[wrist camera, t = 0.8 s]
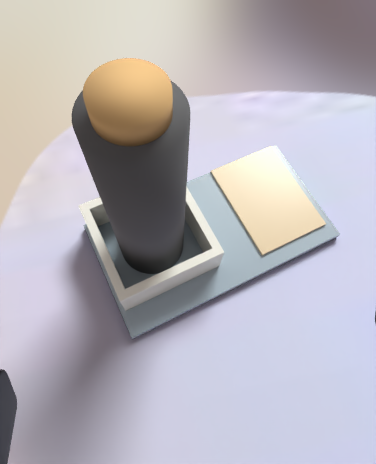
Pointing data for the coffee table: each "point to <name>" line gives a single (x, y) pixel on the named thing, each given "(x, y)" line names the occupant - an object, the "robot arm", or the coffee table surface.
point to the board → (216, 238)
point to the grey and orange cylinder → (137, 157)
